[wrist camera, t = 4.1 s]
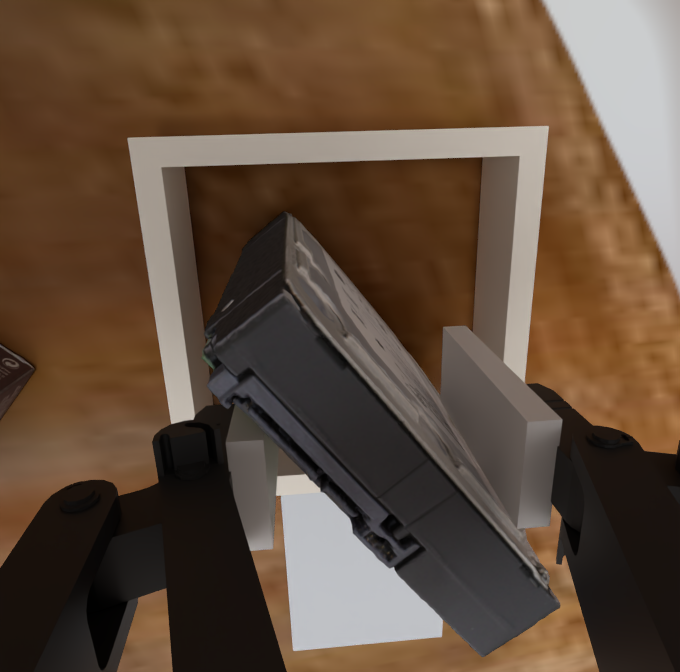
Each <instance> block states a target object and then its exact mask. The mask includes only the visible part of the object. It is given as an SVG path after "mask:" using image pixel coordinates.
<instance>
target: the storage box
mask: <svg viewBox="0 0 680 672" xmlns="http://www.w3.org/2000/svg"><path fill="white" fill-rule="evenodd" d="M548 130H549V126H529V127H493V128H457V129H421V130H386V131H350V132H314V133H278V134H243V135H207V136H171V137H135V138H127V139H128V145H129V152H130V158H131V165H132V171H133V178H134V184H135V191H136V197H137V204H138V210H139V217H140V223H141V230H142V236H143V243H144V249H145V256H146V262H147V269H148V275H149V282H150V288H151V295H152V301H153V308H154V314H155V321H156V327H157V334H158V340H159V347H160V353H161V360H162V366H163V373H164V379H165V386H166V392H167V399H168V405H169V412H170V418H171V424H174V423H178V422H181V421H186V420H193V419H194V417H195V415H196V414H197V413H198V412H199V411H201V410H202V409H203V408H204V407H205V406H208V405H213V397H212V392H211V391H210V390H209V389H208V388H207V384H208V382H209V378H210V373H209V365H208V364H207V363H206V362H205V361H204V360H203V359H201V358H202V350H203V348H204V347H205V345H206V340H205V335H204V324H203V315H202V307H201V299H200V291H199V283H198V275H197V266H196V258H195V250H194V242H193V234H192V225H191V217H190V209H189V201H188V193H187V184H186V176H185V168H184V167H186V166H217V165H249V164H280V163H311V162H343V161H374V160H405V159H437V158H468V157H483V160H482V177H481V194H480V212H479V229H478V247H477V264H476V282H475V299H474V316H473V333H474V334H475V335H476V336H477V337H478V338H479V339H480V340H481V341H482V342H483V343H484V344H485V345H486V346H487V347H488V348H489V349H490V350H491V351H492V352H493V353H494V354H495V355H496V356H497V357H499V358H500V359H501V360H502V361H503V362H504V363H505V364H506V365H507V366H508V367H509V368H510V369H511V370H512V371H513V372H514V373H515V374H516V375H517V376H518V377H519V378H520V379H521V380H522V381H523V382H525V371H526V361H527V350H528V340H529V329H530V319H531V308H532V298H533V287H534V277H535V266H536V256H537V245H538V235H539V224H540V214H541V203H542V193H543V182H544V172H545V161H546V151H547V140H548ZM307 493H320V488H319V487H318V486H317V485H316V484H315V483H314V482H313V481H310V480H309V478H308V476H307V475H306V474H305V473H304V472H303V471H302V470H301V469H300V468H299V467H298V466H297V465H296V464H295V463H294V462H293V461H292V460H291V459H290V458H289V457H288V456H287V455H286V454H285V453H284V451H283V450H282V449H280V448H279V455H278V472H277V489H276V496H281V495H294V494H307Z"/></svg>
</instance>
